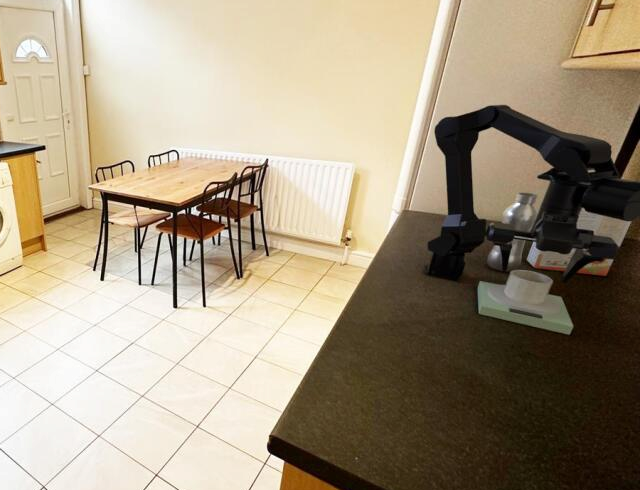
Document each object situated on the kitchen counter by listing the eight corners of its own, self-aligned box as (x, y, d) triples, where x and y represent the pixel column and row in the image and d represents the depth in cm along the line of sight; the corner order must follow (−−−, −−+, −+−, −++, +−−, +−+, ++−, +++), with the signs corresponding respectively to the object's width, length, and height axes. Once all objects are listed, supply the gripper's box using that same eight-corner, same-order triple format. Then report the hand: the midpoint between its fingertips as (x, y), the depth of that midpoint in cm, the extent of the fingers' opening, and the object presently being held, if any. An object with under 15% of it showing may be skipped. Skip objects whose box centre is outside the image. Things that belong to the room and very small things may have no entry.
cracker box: (593, 267, 107) (631, 188, 98) (606, 277, 102) (646, 195, 93) (524, 259, 112) (553, 184, 104) (533, 268, 107) (564, 190, 99)
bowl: (504, 299, 89) (512, 278, 87) (502, 287, 93) (509, 267, 91) (546, 308, 85) (555, 286, 83) (541, 295, 90) (550, 274, 88)
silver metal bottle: (489, 272, 106) (517, 197, 98) (480, 262, 112) (505, 190, 104) (521, 276, 104) (552, 199, 96) (510, 265, 109) (538, 191, 101)
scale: (478, 314, 89) (482, 302, 88) (477, 288, 99) (481, 277, 98) (569, 335, 81) (575, 322, 80) (558, 304, 91) (562, 293, 90)
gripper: (501, 209, 80) (476, 280, 86) (645, 225, 70) (605, 305, 76) (498, 195, 88) (475, 262, 94) (626, 209, 78) (592, 282, 84)
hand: (532, 277), depth 87 cm, fingers open, 9 cm apart
